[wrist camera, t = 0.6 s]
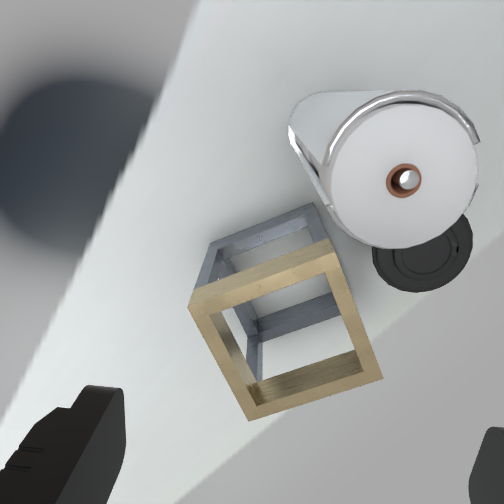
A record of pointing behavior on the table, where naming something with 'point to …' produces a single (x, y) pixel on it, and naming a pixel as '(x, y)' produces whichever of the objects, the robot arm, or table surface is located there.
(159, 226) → the table surface
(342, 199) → the silver metal cylinder
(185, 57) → the table surface
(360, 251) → the table surface
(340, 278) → the collar stand
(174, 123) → the table surface
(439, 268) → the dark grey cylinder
